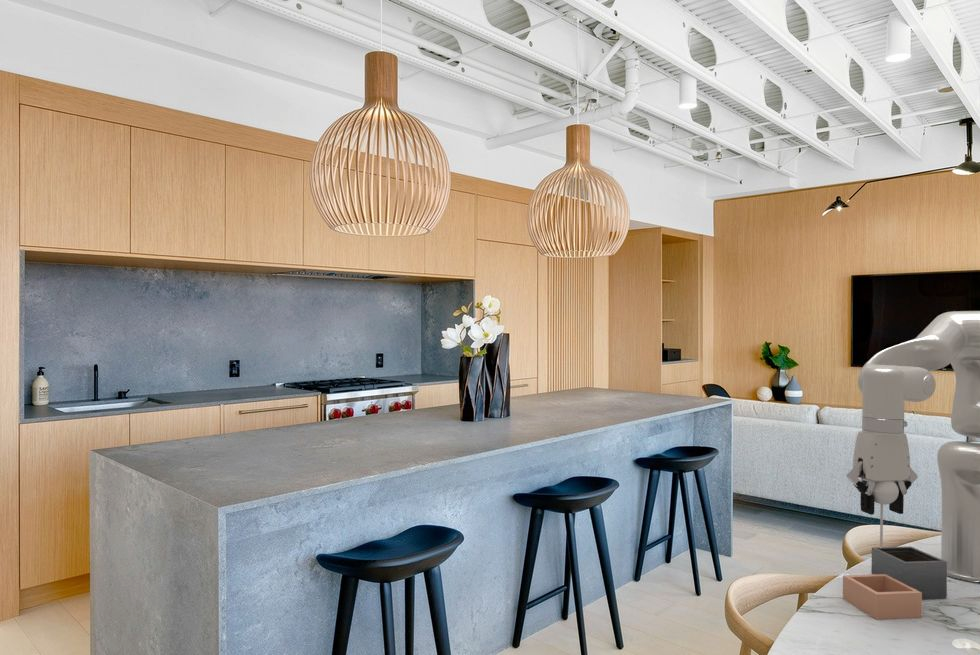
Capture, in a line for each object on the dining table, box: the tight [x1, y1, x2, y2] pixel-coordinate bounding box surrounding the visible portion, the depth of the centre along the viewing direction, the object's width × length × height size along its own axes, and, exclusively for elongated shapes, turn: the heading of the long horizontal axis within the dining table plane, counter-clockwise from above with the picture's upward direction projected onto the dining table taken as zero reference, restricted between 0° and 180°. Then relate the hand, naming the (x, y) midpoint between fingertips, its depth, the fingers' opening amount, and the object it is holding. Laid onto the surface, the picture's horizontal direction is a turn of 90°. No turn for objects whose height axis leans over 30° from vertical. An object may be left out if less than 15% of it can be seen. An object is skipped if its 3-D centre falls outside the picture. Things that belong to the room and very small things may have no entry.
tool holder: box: [842, 574, 923, 620], centre depth 133 cm, size 10×10×5 cm
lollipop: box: [866, 481, 899, 548], centre depth 133 cm, size 6×6×15 cm
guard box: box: [870, 546, 948, 601], centre depth 143 cm, size 10×10×8 cm
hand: (881, 511), depth 133 cm, fingers closed on lollipop, 5 cm apart
